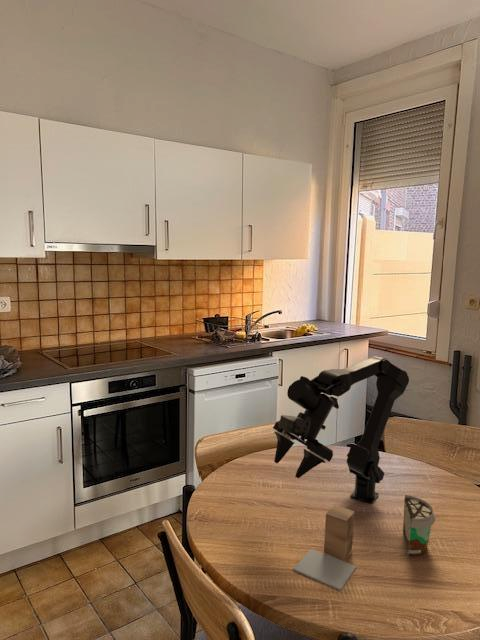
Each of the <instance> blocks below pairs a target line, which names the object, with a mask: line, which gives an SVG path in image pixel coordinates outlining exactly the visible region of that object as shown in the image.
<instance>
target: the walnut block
mask: <svg viewBox="0 0 480 640" xmlns="http://www.w3.org/2000/svg"><path fill="white" fill-rule="evenodd" d="M324 523H325V524H324V543H323V553H324V554H326V555H329V556H331V557H334V558H336V559H339V560H341V561H344V562H346V560H347V558H348V557H349V556H350V554H351V553H352V552H353V543H354V542H353V539H354V526H355V525H354V524H355V511H354V510H352V509H348V508H345V507H342V506H339V505H336V504H333V506H332V507H331V508H329V510H328V511H327V512H326V513H325V522H324Z"/></svg>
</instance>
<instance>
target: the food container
mask: <svg viewBox="0 0 480 640" xmlns="http://www.w3.org/2000/svg"><path fill="white" fill-rule="evenodd" d="M403 501H404V504H403V505H404V508H403V523H402V524H403V525H402V536H403V540H404V545H405V549H406V554H407V556H408V557H412V558H413V557H421V556H423V555H425V554H426V553H427V552H428V546H429V540H430V534H431V530H432V529H431V528H432V526H433V525H434V524H435V522H436V517H435V511H434V508H433V507H432V505H431V504H430V503H428V502H427V501H426V500H424V499H421V498H419V497H416V496H413V495H408V494H404V500H403Z"/></svg>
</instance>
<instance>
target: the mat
mask: <svg viewBox="0 0 480 640" xmlns="http://www.w3.org/2000/svg"><path fill="white" fill-rule="evenodd" d="M356 569H357V566H356V565H354V564H351V563H348V562H346V561H341V560H339V559H336V558H334V557H331V556H329V555H326V554H324V552H320V551H319V550H316V549H313V548H311V549H309V551H308V552H307V553H306V554H305V555H304V556H303V557H302V559H300V560H299V562H298V563H297V564H296V565H295V566H294V567H293V571H294V572H297V573H299V574H301V575H303V576H306V577H308V578H310V579H311V580H315V581H317V582H319V583H322V584H324V585H327V586H329V587H331V588H334V589H336V590H338V591H342V590H343V587H344V586H345V585H346V584H347V582H348V580H349V579H350V578H351V576H352V575H353V573H354V571H355V570H356Z"/></svg>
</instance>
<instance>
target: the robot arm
mask: <svg viewBox="0 0 480 640" xmlns="http://www.w3.org/2000/svg"><path fill="white" fill-rule="evenodd" d="M372 377H375V378H377V379H376V383H375V385H376V390H377V396H376V399H375V401H374V404H373V406H372V409H371V411H370V415H369V416H368V417H369V418H368V421H367V422H366V425H365V428H364V430H363V433H362V436H361V439H360V440H359V441H358V442H356V443H352V444H351V445H350V448H349V451H348V453H347V454H346V458H347V459H346V464H347V467H348V472H349V473H351V474H353V475H355V483H354V490H353V491H352V493H351V494H350V495H349V496H350V498H352V499H355V500H359V501H361V502H365V503H367V504H373V503H374V502H375V501H376V499H377V498H378V496H379V492H376V484H380V483H381V481H383V480H384V477H385V472H384V471H383V469H381V467H380V466H379V464H380V459H381V457H380V452H379V445H380V442H381V439H382V436H383V435H384V430H385V428H386V427H387V426H386V425H387V423H388V419H389V417H390V414H391V412H392V409H393V407H394V404H395V401H396V400H397V399H398V398H399V397H401V396H402V395H404V393H405V391H406V390H407V386H408V385H409V383H410V382H409V381H410V378H409V376H408V372H406V370H403V369H401V368H399V367H398V366H396V365H394V364H393V363H392V362H390V361H389V360H388V359H387V358H385V357H380V356H376V355H374V356H370V357H369V358H368V359H365V360H362V361H360V362H358V363H354V364H352V365H350V366H347V367H345V368H332V369H324V370H322V371H320V372H319V373H318V375H317V376H315V377H313V378H312V379H309V378H308V377H306V376H303V375H301V376H300V378H299V379H297V380H295V381H293V382H292V383H291V384H290V385H289V386H288V388H287V393H286V394H287V397H288V399H289V400H290V401H292V402H293V403H295V404H297V406H299V407H301V408H303V409H304V412H301V411H300V412H298V413H297V416H293V415H286V414H281V415H280V418H279V420H277V421H276V422H275V424H274V425H273V426H272V429H274V432H273V433H274V434H275V436H276V439H277V443H276V450H275V456H274V459H273V460H274V461H273V462H274V463H275V464H279V463H280V462H281V460H283V458H284V457H285V456H286V455H287V453H288V452H289V450H290V449H291V448H292V446H293V445H294V444H295V442H294V441H297V442H298V443H301V444H302V445H304V446H305V447H306V449H305V448H303V458H302V460H301V462H300V464H299V466H298V468H297V470H296V473H295V478H297V479H300V478H301V477H303V475H305V474H307V473H308V472H310V470H311V471H312V469H314V468H315V467H317V466H318V465H320V464H322V463H324V464H325V463H326V461H328V462H329V463H330V462H331V460H332V459H333V457H334V451H333V449H331V448H329V447H327V446H326V445H324V444H322V443H321V442H319V440H318V439H317V437H318V435H319V433H320V431H321V430H323V431H324V430H325V429H326V428H327V426H325V425H324V424H325V423H326V420H327V418H328V416H329V415H330V412H332V409H333V408H334V409H336V410H339V409H340V405H339V403H338V398H337V397H341V396H343V395H344V394H346V393H347V392H349V391H350V390H351V387H352V386H353V385H354V384H357V383H359V382H361V381H364V380H366V379H369V378H372ZM334 396H335V397H334Z"/></svg>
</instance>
